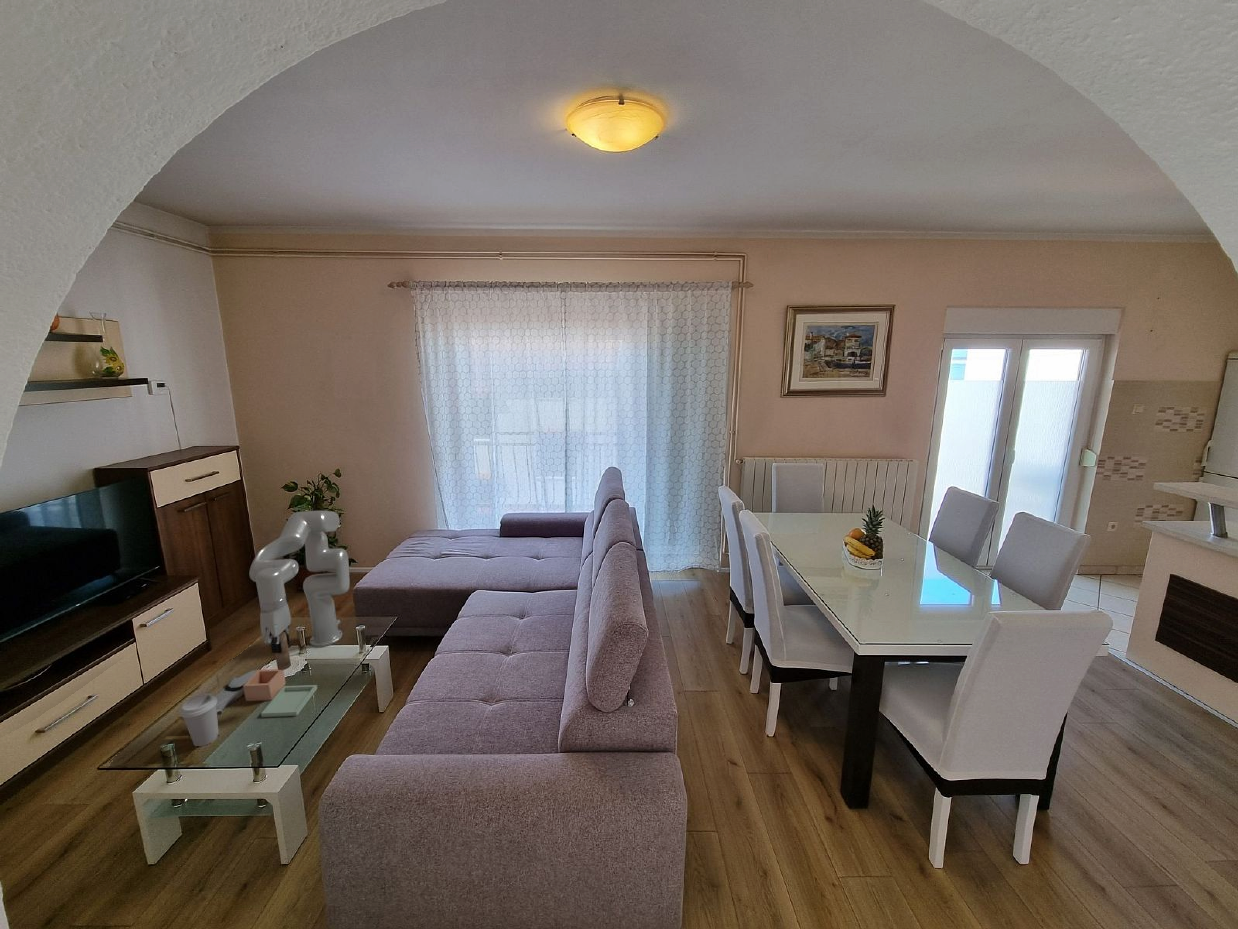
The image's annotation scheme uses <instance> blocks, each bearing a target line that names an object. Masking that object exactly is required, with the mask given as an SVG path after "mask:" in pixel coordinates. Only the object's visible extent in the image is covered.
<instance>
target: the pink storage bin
mask: <svg viewBox="0 0 1238 929" xmlns="http://www.w3.org/2000/svg"><path fill="white" fill-rule="evenodd" d="M257 670H258V671H257V672H256V673H255V674H254V675H253V676H252V677H251V678H250V679H249V680H248V681H247V682H246V684H245V685H244V686H243V688H244V697H245V701H246V702H254V701H255V702H257V701H258V702H259V701H272V700H273V699H274V697H275V696H276V695H277V694H278V693H279V691H280V690H281V689H282V688H283V687H284V686H286V682H287V681H286V678H285V670H278V668H276V669H274V668H273V669H257Z"/></svg>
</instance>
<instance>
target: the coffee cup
mask: <svg viewBox="0 0 1238 929" xmlns="http://www.w3.org/2000/svg"><path fill="white" fill-rule="evenodd" d="M215 696H216V695H213V694H212V693H209V692H207V693H206V692H205V693H201V694H197V695H194V696H193V697H190V698H188V699H186V701H185V702H184V703H183V704H182V705H181V708H180V710H179V716H180V717H182V718H183V720H184V723H185V726H186V728H187V730H188V733H189V735H190V738H191V741H192V743H193V746H195V747H197V746H201V747H204V746H208V745H210V744H212V743H214V741H216V740H217V738H218V737H219V734H220V733H219V722H218V714H217V708H216V704H217V702H218V700H217V698H216V697H215ZM209 743H210V744H209ZM207 744H208V745H207Z"/></svg>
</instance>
